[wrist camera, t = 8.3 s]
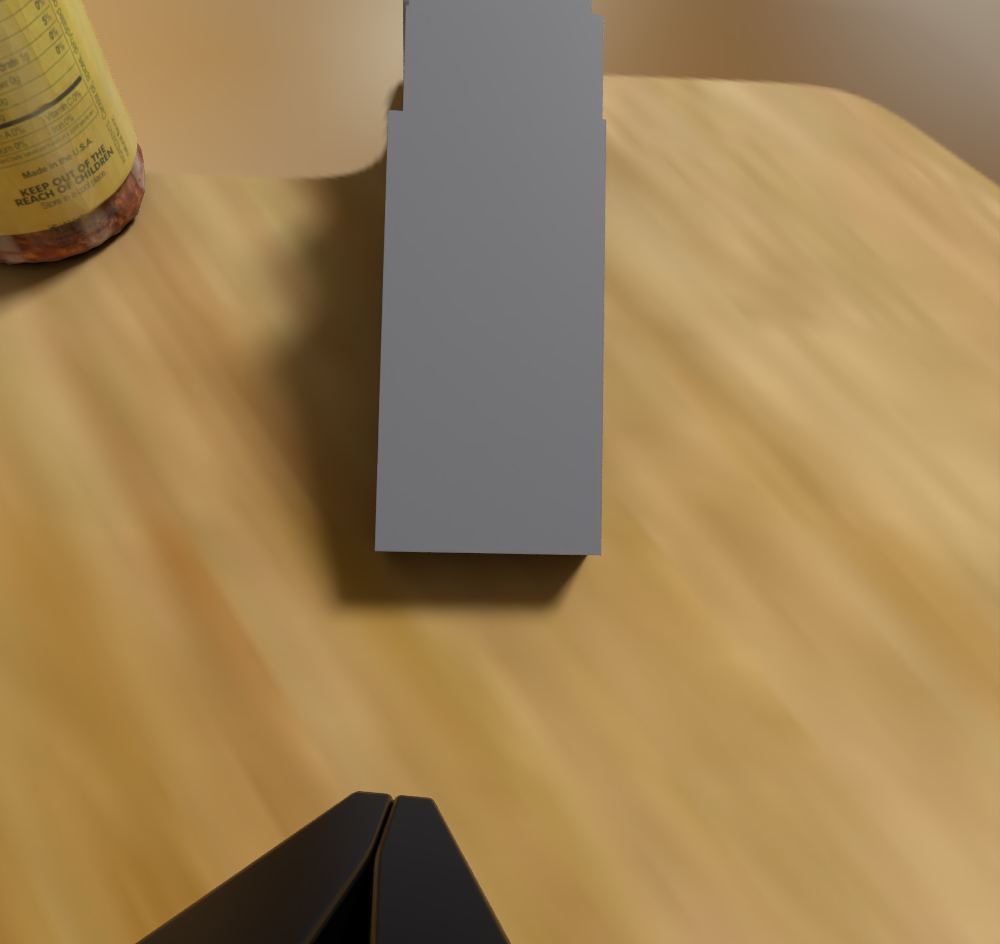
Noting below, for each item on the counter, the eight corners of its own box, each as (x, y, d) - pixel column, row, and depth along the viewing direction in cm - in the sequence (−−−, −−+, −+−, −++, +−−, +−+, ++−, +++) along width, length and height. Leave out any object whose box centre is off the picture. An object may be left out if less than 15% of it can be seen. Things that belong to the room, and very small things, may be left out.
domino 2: (601, 555, 17) (606, 119, 18) (374, 551, 17) (388, 110, 18) (589, 552, 19) (594, 152, 20) (382, 548, 19) (394, 144, 19)
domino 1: (599, 405, 19) (603, 15, 20) (394, 400, 19) (405, 5, 20) (588, 414, 21) (592, 53, 21) (399, 409, 21) (410, 43, 21)
